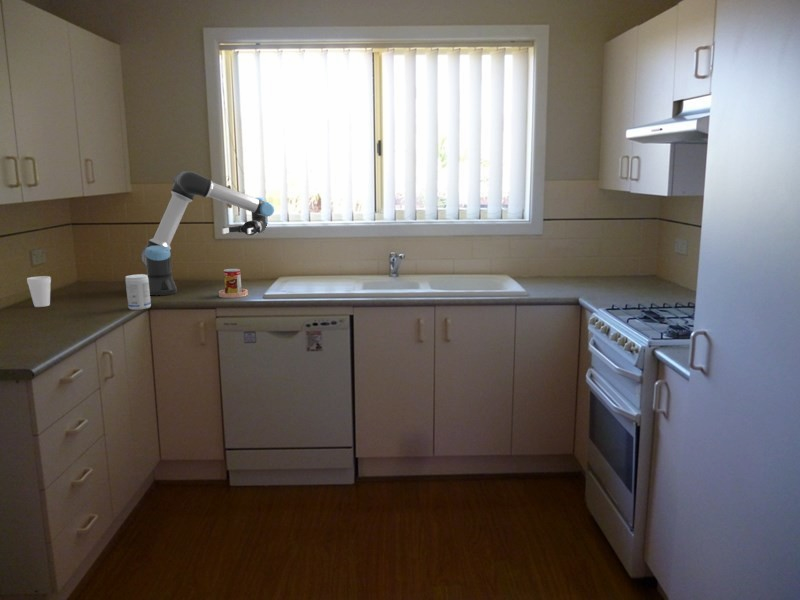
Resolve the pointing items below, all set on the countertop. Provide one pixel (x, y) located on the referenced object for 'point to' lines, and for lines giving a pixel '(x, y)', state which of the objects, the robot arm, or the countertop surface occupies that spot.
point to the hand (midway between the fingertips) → (235, 231)
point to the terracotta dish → (233, 294)
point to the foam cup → (40, 290)
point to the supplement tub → (138, 292)
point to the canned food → (232, 281)
